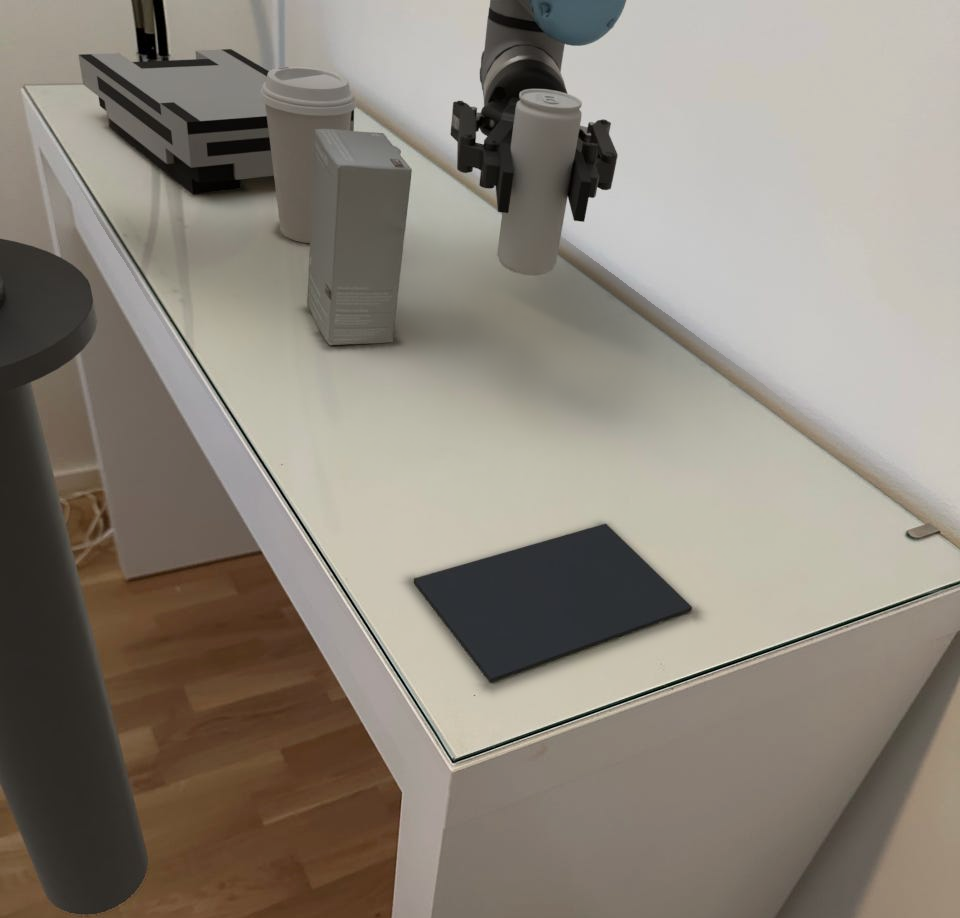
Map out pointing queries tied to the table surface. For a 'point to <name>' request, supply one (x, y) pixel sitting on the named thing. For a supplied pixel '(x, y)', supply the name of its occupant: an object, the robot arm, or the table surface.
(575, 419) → the table surface
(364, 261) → the cosmetic box
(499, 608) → the mat
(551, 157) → the beverage can
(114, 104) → the game console
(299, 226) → the coffee cup
